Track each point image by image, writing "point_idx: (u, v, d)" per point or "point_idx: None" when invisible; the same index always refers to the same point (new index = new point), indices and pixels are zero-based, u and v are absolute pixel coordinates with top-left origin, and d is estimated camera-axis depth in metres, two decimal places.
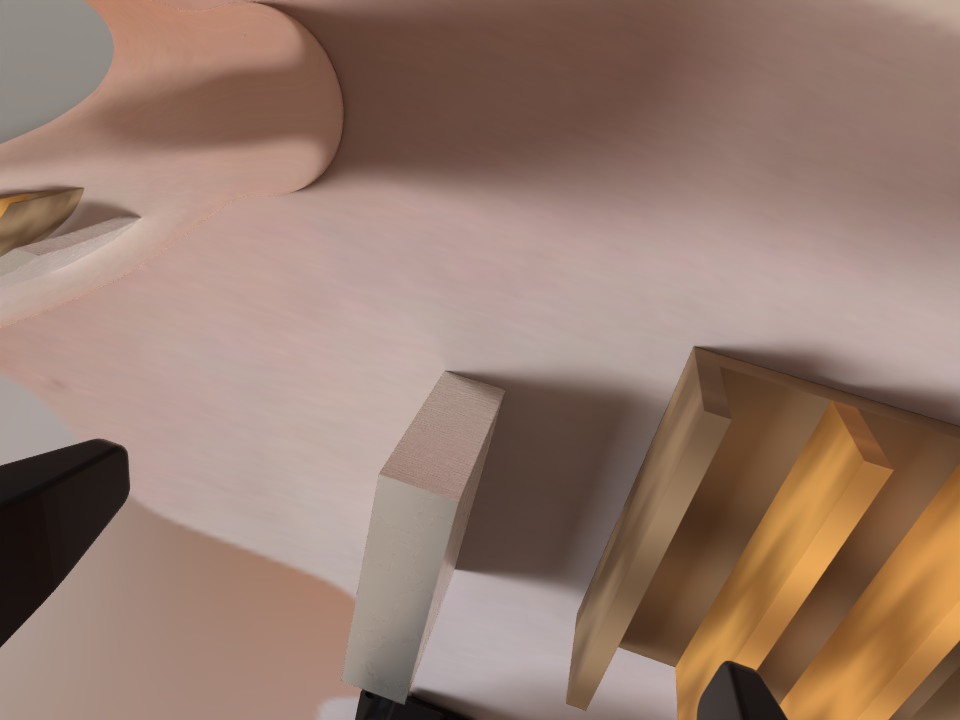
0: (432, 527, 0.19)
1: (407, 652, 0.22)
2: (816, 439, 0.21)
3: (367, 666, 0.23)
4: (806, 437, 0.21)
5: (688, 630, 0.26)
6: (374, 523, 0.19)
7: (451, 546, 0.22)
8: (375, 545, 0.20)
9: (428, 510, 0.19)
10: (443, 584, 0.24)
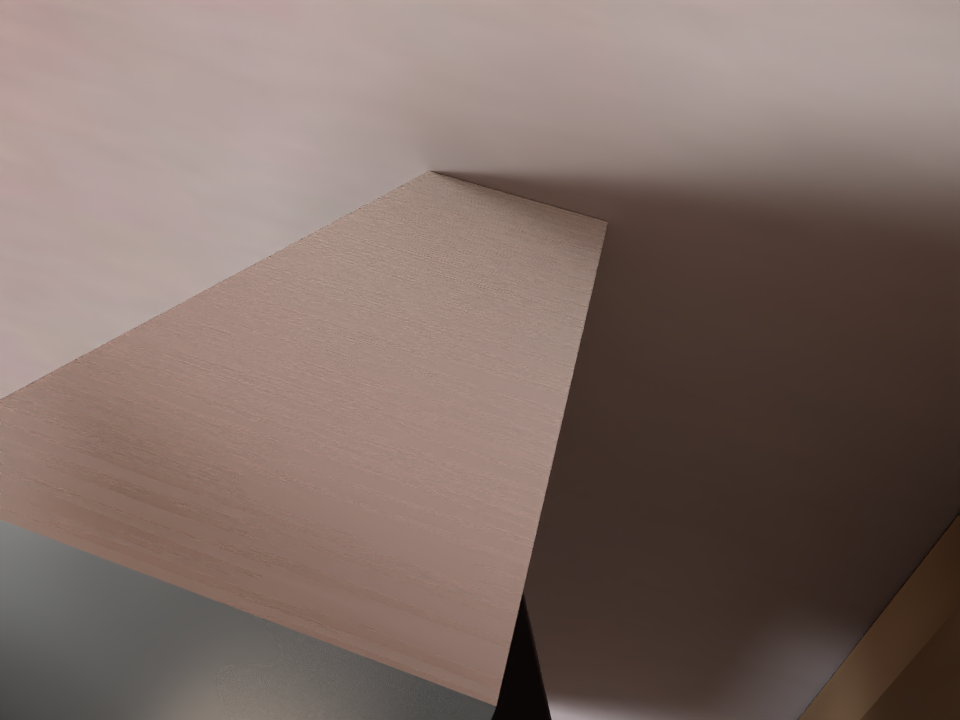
0: None
1: None
2: None
3: None
4: None
5: None
6: None
7: None
8: None
9: None
10: None
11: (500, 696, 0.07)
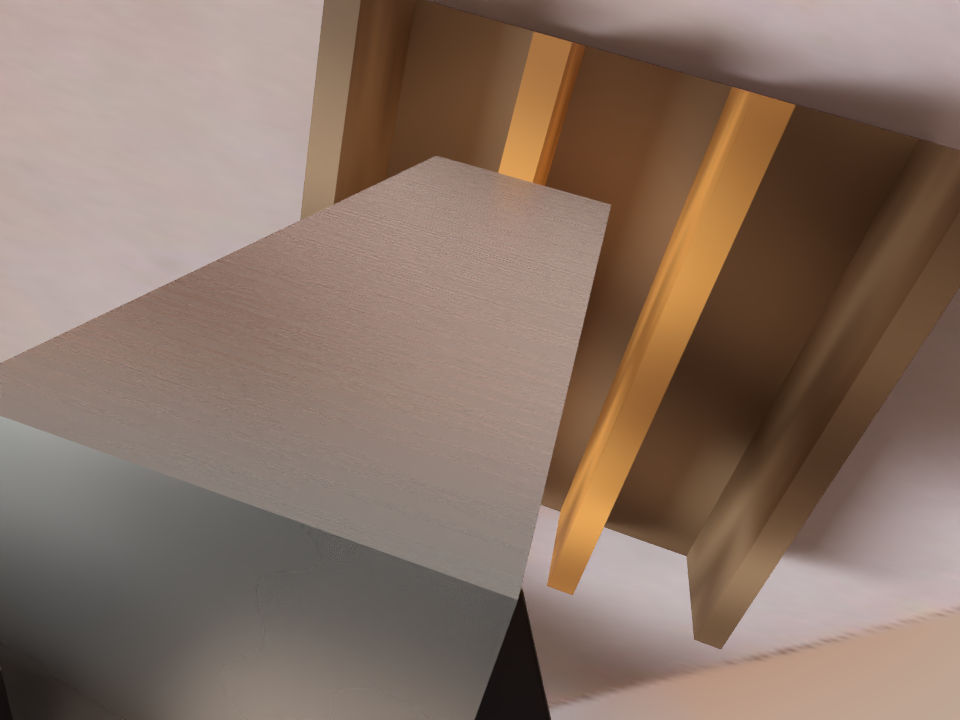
0: None
1: None
2: None
3: None
4: None
5: None
6: (26, 690, 0.03)
7: None
8: None
9: (303, 646, 0.03)
10: None
11: (499, 696, 0.07)
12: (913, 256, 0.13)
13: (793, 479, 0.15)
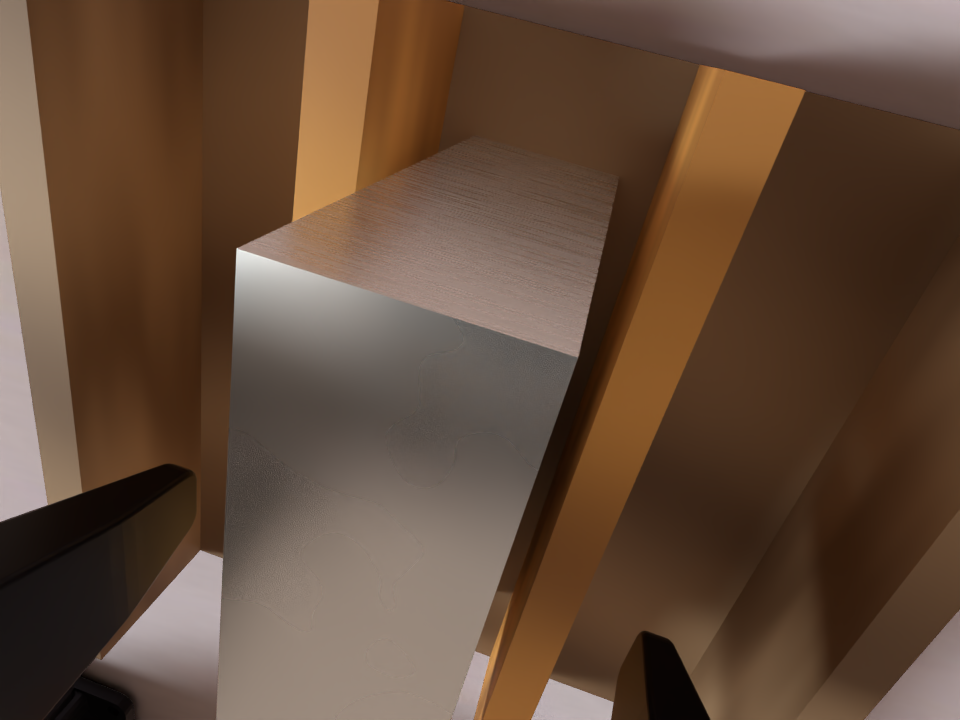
0: (457, 479, 0.05)
1: None
2: None
3: None
4: None
5: None
6: (242, 467, 0.05)
7: None
8: (254, 547, 0.06)
9: (443, 407, 0.05)
10: None
11: None
12: None
13: (811, 699, 0.10)
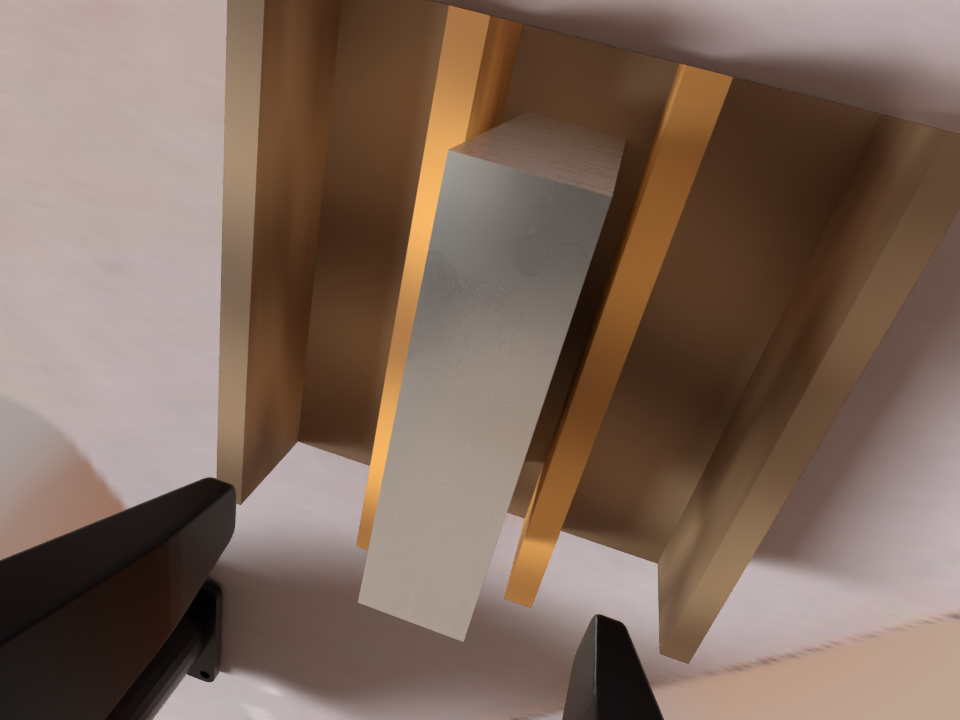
0: (549, 269, 0.10)
1: (476, 544, 0.12)
2: None
3: (403, 574, 0.13)
4: None
5: None
6: (432, 273, 0.10)
7: None
8: (431, 324, 0.11)
9: (544, 228, 0.09)
10: None
11: None
12: (872, 241, 0.12)
13: (754, 484, 0.14)
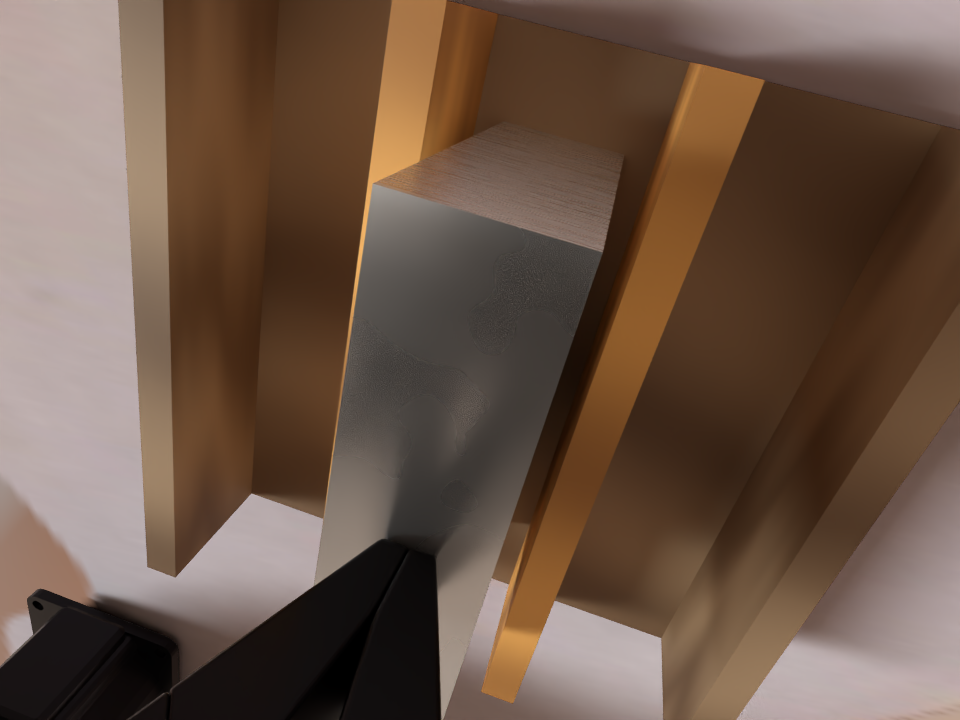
0: (516, 346, 0.07)
1: None
2: None
3: None
4: None
5: None
6: (360, 346, 0.07)
7: None
8: (363, 410, 0.08)
9: (509, 293, 0.07)
10: None
11: (391, 655, 0.07)
12: (938, 289, 0.10)
13: (781, 579, 0.12)
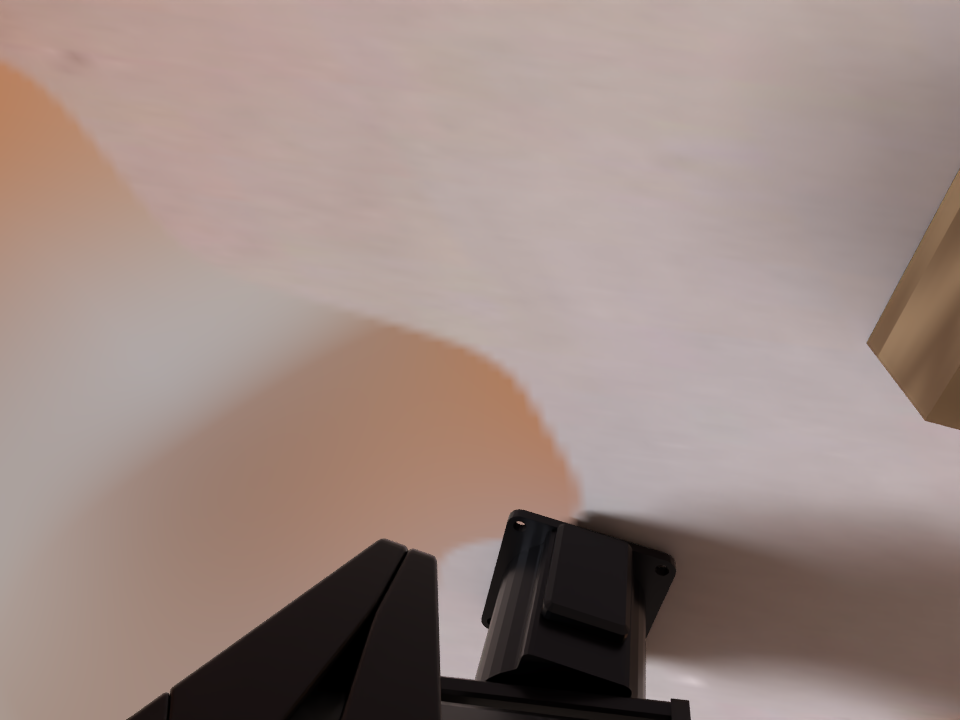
0: None
1: None
2: None
3: None
4: None
5: None
6: None
7: None
8: None
9: None
10: None
11: (391, 655, 0.07)
12: None
13: None
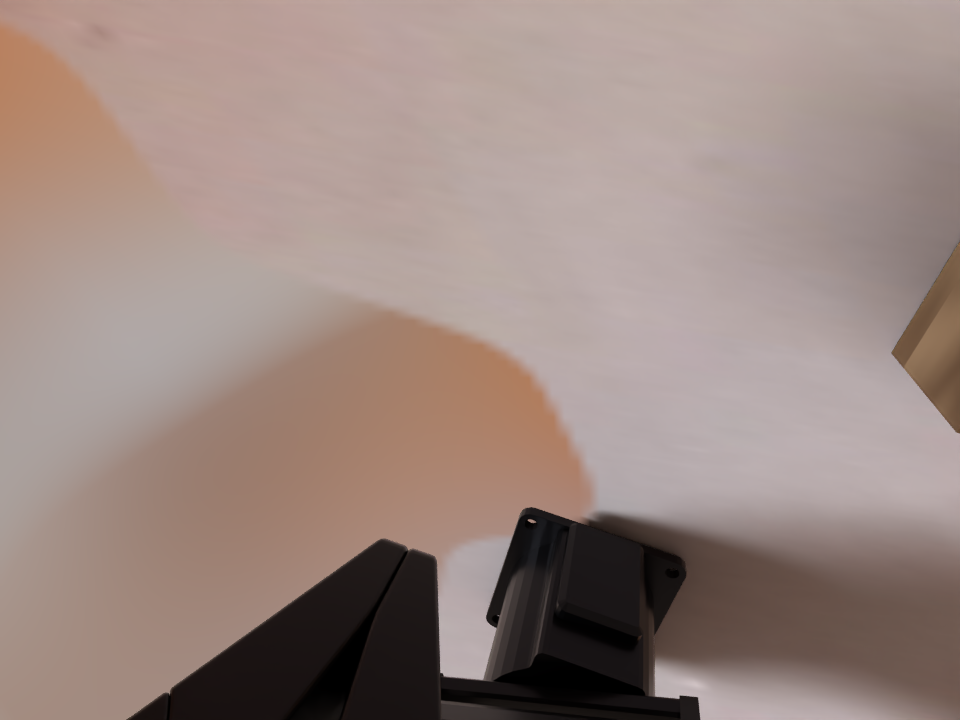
0: None
1: None
2: None
3: None
4: None
5: None
6: None
7: None
8: None
9: None
10: None
11: (391, 655, 0.07)
12: None
13: None
